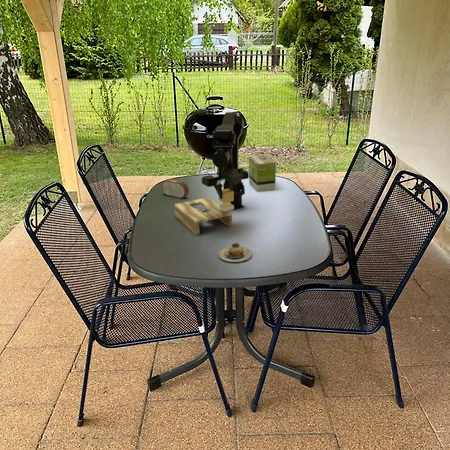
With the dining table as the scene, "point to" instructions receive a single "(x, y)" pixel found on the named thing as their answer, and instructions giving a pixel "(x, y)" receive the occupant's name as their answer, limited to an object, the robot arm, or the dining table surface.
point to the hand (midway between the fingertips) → (226, 197)
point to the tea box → (262, 173)
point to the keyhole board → (201, 213)
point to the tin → (175, 188)
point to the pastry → (235, 253)
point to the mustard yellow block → (227, 200)
